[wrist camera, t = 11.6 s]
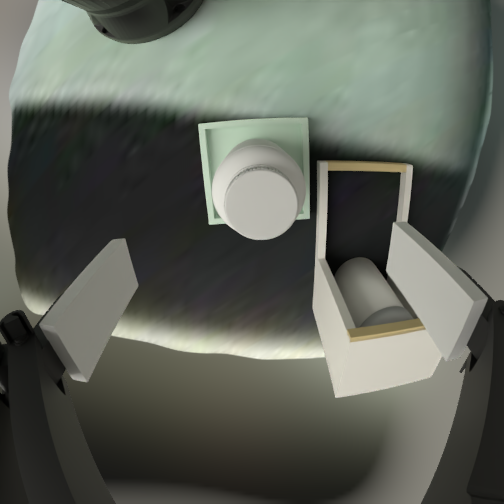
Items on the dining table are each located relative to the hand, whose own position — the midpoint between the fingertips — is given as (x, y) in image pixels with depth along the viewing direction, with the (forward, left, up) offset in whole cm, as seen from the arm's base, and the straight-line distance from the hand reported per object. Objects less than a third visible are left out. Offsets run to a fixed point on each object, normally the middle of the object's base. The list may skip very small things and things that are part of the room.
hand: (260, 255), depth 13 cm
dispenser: (+10, +14, -23) cm, 29 cm away
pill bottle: (0, 0, -22) cm, 22 cm away
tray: (0, 0, -23) cm, 23 cm away
